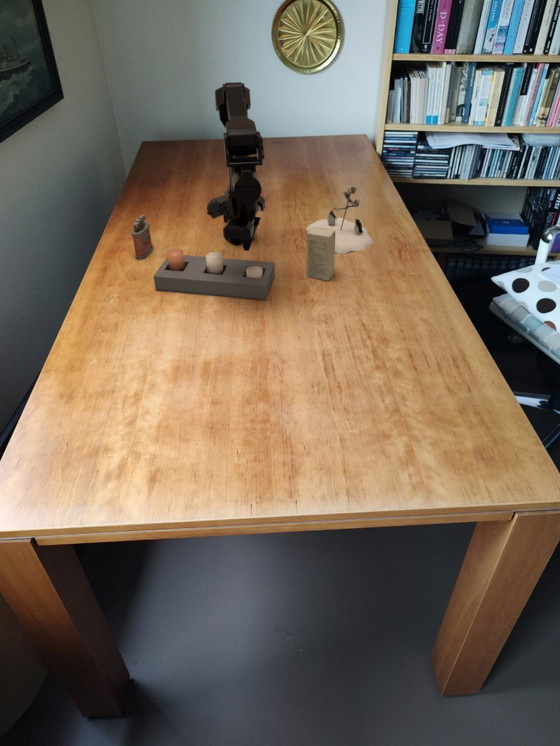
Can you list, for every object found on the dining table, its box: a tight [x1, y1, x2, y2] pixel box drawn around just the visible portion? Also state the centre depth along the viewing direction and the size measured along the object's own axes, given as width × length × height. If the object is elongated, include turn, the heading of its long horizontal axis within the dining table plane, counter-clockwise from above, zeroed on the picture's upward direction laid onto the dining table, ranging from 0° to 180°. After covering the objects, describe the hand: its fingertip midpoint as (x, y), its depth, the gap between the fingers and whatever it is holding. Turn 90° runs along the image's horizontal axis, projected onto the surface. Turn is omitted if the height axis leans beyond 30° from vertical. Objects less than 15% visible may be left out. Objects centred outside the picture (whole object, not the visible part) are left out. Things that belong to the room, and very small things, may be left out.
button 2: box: [246, 266, 263, 278], centre depth 137 cm, size 4×4×4 cm
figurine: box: [305, 184, 374, 255], centre depth 154 cm, size 20×18×16 cm
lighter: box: [130, 214, 154, 261], centre depth 150 cm, size 8×3×10 cm, turn 168°
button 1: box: [205, 251, 223, 274], centre depth 136 cm, size 4×4×4 cm
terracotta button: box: [166, 248, 185, 271], centre depth 137 cm, size 4×4×4 cm
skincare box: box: [306, 227, 336, 282], centre depth 139 cm, size 6×4×12 cm
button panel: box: [153, 254, 276, 301], centre depth 138 cm, size 28×12×4 cm, turn 80°
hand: (246, 250), depth 132 cm, fingers closed
